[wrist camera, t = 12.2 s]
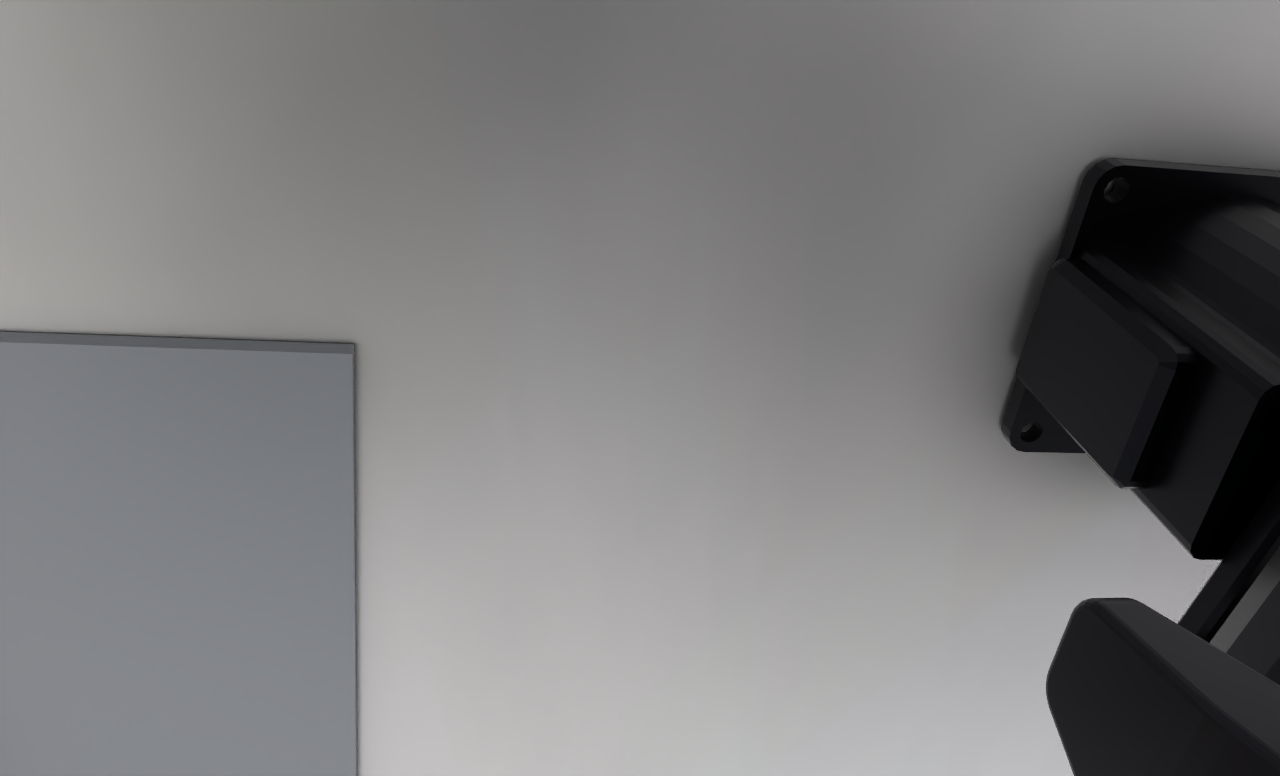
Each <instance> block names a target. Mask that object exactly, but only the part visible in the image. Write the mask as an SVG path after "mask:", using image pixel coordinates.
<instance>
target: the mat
mask: <svg viewBox="0 0 1280 776" xmlns="http://www.w3.org/2000/svg"><path fill="white" fill-rule="evenodd" d="M0 776H357V675H356V541H355V407H354V344H334V343H306V342H278V341H250V340H222V339H195V338H167V337H139V336H111V335H83V334H55V333H27V332H0Z"/></svg>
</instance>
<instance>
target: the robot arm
mask: <svg viewBox="0 0 1280 776" xmlns="http://www.w3.org/2000/svg"><path fill="white" fill-rule="evenodd" d="M1115 178H1118V185H1117V186H1116V188H1115V190H1114V191H1112V192H1111V193H1110V194H1108V195H1104V190H1105V188H1106V186H1107V185H1108V183H1109V182H1111V181H1112V180H1113V179H1115ZM1016 373H1017V376H1018V377H1017V380H1016V383H1015V386H1014V389H1013V392H1012V395H1011V398H1010V401H1009V404H1008V407H1007V410H1006V413H1005V416H1004V419H1003V422H1002V429H1001V430H1002V433H1003V435H1004V437H1005V438H1006V439H1007V441H1008V442H1009V443H1010V444H1011V446H1013V447H1014V448H1015V449H1016V450H1018V451H1023V452H1058V453H1086V454H1087V455H1088V456H1089V457H1090V458H1091V459H1092V460H1093V461H1094V462H1095V464H1096V465H1097V466H1098V467H1099V468H1100V469H1101V470H1102V471H1103V472H1104V473H1105V475H1106V476H1107V477H1108V478H1109V479H1110V480H1111V481H1112V482H1113V483H1114V484H1115V485H1116V486H1117V487H1119V488H1130V490H1131V491H1132V492H1133V493H1134V494H1135V495H1136V496H1137V497H1138V498H1139V499H1140V500H1141V501H1142V503H1143V504H1144V505H1145V506H1146V507H1147V508H1148V509H1149V510H1150V511H1151V512H1152V513H1153V514H1154V516H1155V517H1156V518H1157V519H1158V520H1159V521H1160V522H1161V523H1162V524H1163V525H1164V526H1165V527H1166V529H1167V530H1168V531H1169V532H1170V533H1171V534H1172V535H1173V536H1174V537H1175V538H1176V539H1177V540H1178V542H1179V543H1180V544H1181V545H1182V546H1183V547H1184V548H1185V549H1186V550H1187V551H1188V552H1189V553H1190V554H1191V556H1192V557H1193V558H1196V559H1200V560H1221V562H1220V564H1219V565H1218V567H1217V568H1216V569H1215V571H1214V572H1213V574H1212V575H1211V577H1210V578H1209V579H1208V581H1207V582H1206V584H1205V585H1204V587H1203V588H1202V589H1201V591H1200V592H1199V594H1198V595H1197V597H1196V598H1195V599H1194V601H1193V602H1192V604H1191V605H1190V606H1189V608H1188V609H1187V611H1186V612H1185V614H1184V615H1183V616H1182V618H1181V619H1180V621H1179V622H1178V624H1176V623H1175V622H1173V621H1171V620H1170V619H1168V618H1166V617H1165V616H1163V615H1161V614H1160V613H1158V612H1156V611H1155V610H1153V609H1151V608H1150V607H1148V606H1146V605H1144V604H1143V603H1141V602H1139V601H1137V600H1134V599H1130V598H1091V599H1087V600H1084V601H1082V602H1081V603H1079V604H1078V605H1077V606H1076V607H1075V608H1074V610H1073V612H1072V614H1071V616H1070V619H1069V621H1068V624H1067V626H1066V629H1065V631H1064V634H1063V636H1062V639H1061V641H1060V644H1059V646H1058V648H1057V651H1056V653H1055V656H1054V658H1053V661H1052V663H1051V666H1050V668H1049V671H1048V674H1047V681H1046V694H1047V700H1048V704H1049V708H1050V711H1051V714H1052V716H1053V719H1054V722H1055V725H1056V727H1057V730H1058V733H1059V736H1060V738H1061V741H1062V744H1063V747H1064V749H1065V752H1066V755H1067V758H1068V760H1069V763H1070V766H1071V769H1072V771H1073V774H1074V776H1280V171H1270V170H1257V169H1244V168H1231V167H1218V166H1206V165H1193V164H1180V163H1167V162H1154V161H1142V160H1129V159H1116V158H1114V159H1106V160H1103V161H1101V162H1099V163H1097V164H1095V165H1094V166H1093V167H1092V168H1091V169H1090V170H1089V171H1088V173H1087V175H1086V176H1085V178H1084V180H1083V182H1082V185H1081V188H1080V191H1079V194H1078V197H1077V200H1076V203H1075V206H1074V209H1073V212H1072V215H1071V218H1070V221H1069V224H1068V227H1067V230H1066V233H1065V236H1064V239H1063V242H1062V245H1061V248H1060V251H1059V254H1058V257H1057V260H1056V263H1055V264H1054V265H1053V267H1052V268H1051V269H1050V271H1049V274H1048V277H1047V280H1046V283H1045V286H1044V289H1043V292H1042V295H1041V298H1040V301H1039V304H1038V307H1037V310H1036V313H1035V316H1034V319H1033V322H1032V325H1031V328H1030V331H1029V334H1028V337H1027V340H1026V343H1025V346H1024V349H1023V352H1022V355H1021V358H1020V361H1019V364H1018V367H1017V371H1016ZM1030 423H1034V424H1033V425H1032V427H1031V428H1030V429H1029V430H1027V431H1026V432H1021V431H1022V429H1023V428H1024V427H1025V426H1026V425H1028V424H1030Z"/></svg>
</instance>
